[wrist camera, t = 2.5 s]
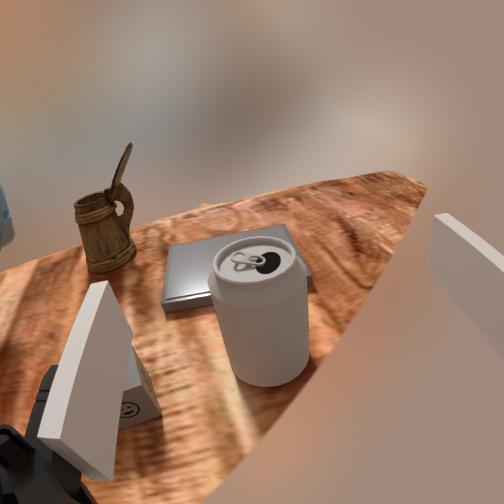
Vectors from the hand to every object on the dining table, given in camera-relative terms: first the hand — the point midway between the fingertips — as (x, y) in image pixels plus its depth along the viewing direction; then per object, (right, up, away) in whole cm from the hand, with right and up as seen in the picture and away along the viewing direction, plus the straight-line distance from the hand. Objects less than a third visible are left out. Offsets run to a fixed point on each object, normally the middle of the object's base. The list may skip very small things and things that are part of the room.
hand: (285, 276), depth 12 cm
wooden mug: (-23, 0, +40) cm, 46 cm away
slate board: (-4, -1, +32) cm, 32 cm away
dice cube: (-13, -14, +15) cm, 24 cm away
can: (+1, -10, +18) cm, 20 cm away
